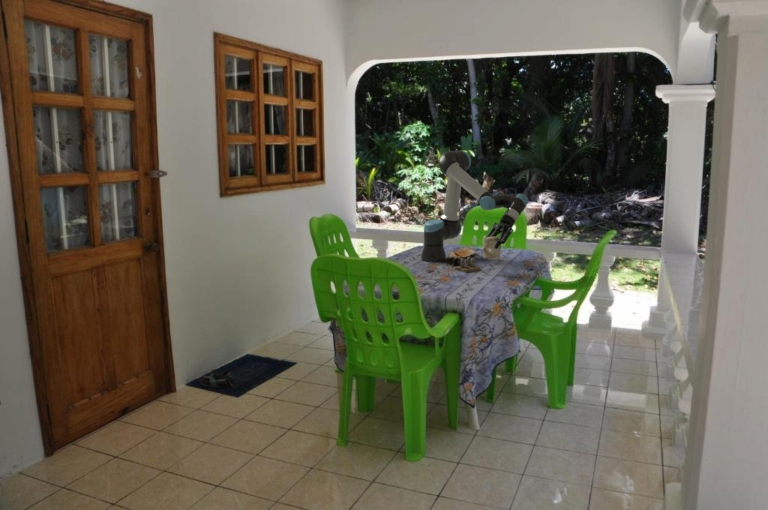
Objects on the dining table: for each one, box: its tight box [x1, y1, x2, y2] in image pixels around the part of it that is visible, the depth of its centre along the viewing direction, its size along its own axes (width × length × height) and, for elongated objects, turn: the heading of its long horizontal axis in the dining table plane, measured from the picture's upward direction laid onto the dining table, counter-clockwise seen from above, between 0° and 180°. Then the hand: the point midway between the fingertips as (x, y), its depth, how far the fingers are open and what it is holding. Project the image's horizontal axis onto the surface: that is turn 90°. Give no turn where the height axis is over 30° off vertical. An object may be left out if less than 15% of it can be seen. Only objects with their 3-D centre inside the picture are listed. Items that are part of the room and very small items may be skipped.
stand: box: [454, 256, 481, 274], centre depth 347 cm, size 9×11×6 cm
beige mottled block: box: [482, 236, 502, 260], centre depth 338 cm, size 5×8×11 cm, turn 127°
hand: (487, 251), depth 336 cm, fingers closed on beige mottled block, 5 cm apart
